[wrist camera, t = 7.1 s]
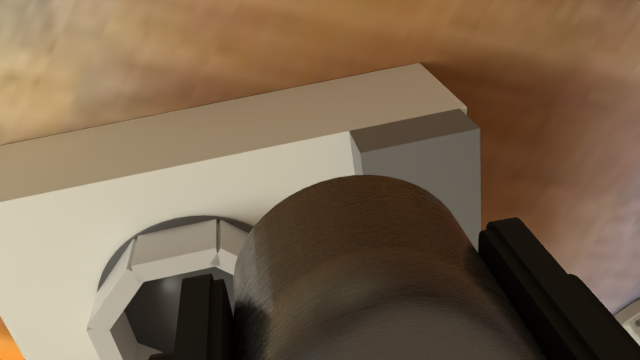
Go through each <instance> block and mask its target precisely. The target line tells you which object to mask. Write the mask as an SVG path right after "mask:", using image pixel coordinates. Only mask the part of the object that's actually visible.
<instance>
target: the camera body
mask: <svg viewBox="0 0 640 360" xmlns="http://www.w3.org/2000/svg"><path fill="white" fill-rule="evenodd" d="M351 175H379V176H388V177H392V178H397V179H401V180H404V181H407V182H410V183H412V184H415V185H417V186H419V187H421V188H423V189H425V190H427V191H428V192H430V193H431V194H433V195H434V196H435V197H437V198H438V199H439V200H441V201H442V202H443V204H444V205H445V206H446V207H447V208H448V209H449V210H450V211H451V213H452V214H453V216H454V217H455V218H456V220H457V221H458V223H459V224H460V226H461V228H462V229H463V231H464V232H465V234H466V235H467V237H468V238H469V240H470V241H471V243H472V244H473V246H474V247H475V249H476V250H477V252H478V237H479V233H480V231H481V162H480V128H479V127H478V126H477V125H476V124H475V123H474V122H473V121H472V120H471V119H470V118H469V117H468V116H467V107H466V106H465V105H464V104H463V103H462V102H461V101H460V100H459V99H458V98H457V97H456V96H455V95H454V94H452V93H451V92H450V91H449V90H448V89H447V88H446V87H445V86H444V85H443V84H442V83H441V82H440V81H438V80H437V79H436V78H435V77H434V76H433V75H432V74H431V73H430V72H429V71H428V70H427V69H426V68H424V67H423V66H422V65H421V64H420V63H416V64H411V65H406V66H400V67H395V68H390V69H385V70H380V71H375V72H370V73H365V74H360V75H355V76H350V77H345V78H340V79H335V80H330V81H325V82H320V83H315V84H310V85H305V86H299V87H294V88H289V89H284V90H279V91H274V92H269V93H264V94H259V95H254V96H249V97H244V98H239V99H234V100H229V101H224V102H219V103H214V104H209V105H204V106H199V107H193V108H188V109H183V110H178V111H173V112H168V113H163V114H158V115H153V116H148V117H143V118H138V119H133V120H128V121H123V122H118V123H113V124H108V125H103V126H98V127H92V128H87V129H82V130H77V131H72V132H67V133H62V134H57V135H52V136H47V137H42V138H37V139H32V140H27V141H22V142H17V143H12V144H7V145H2V146H0V316H1V318H2V320H3V322H4V323H5V325H6V327H7V329H8V330H9V332H10V334H11V336H12V337H13V339H14V341H15V343H16V344H17V346H18V348H19V349H20V351H21V353H22V355H23V356H24V358H25V360H148V358H149V357H150V355H152V354H158V353H163V352H168V351H173V350H174V346H175V337H176V328H177V319H178V310H179V301H180V292H181V283H182V279H183V278H188V277H193V276H199V275H204V274H209V273H211V274H212V275H213V278H214V280H218V279H224V281H225V285H226V289H227V293H228V297H229V301H230V305H231V309H232V313H233V316H234V308H233V276H234V269H235V264H236V260H237V257H238V254H239V251H240V249H241V247H242V245H243V243H244V241H245V239H246V238H247V236H248V235H249V233H250V232H251V230H252V229H253V227H254V226H255V225H256V224H257V223H258V222H259V220H260V219H261V218H262V217H263V216H264V215H265V214H266V213H267V212H268V211H270V210H271V209H272V208H273V207H274V206H275V205H277V204H278V203H280V202H281V201H283V200H284V199H285V198H287V197H288V196H290V195H292V194H294V193H296V192H298V191H300V190H302V189H303V188H306V187H308V186H311V185H313V184H316V183H319V182H322V181H325V180H329V179H333V178H337V177H344V176H351Z"/></svg>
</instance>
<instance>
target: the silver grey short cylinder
mask: <svg viewBox="0 0 640 360" xmlns="http://www.w3.org/2000/svg"><path fill="white" fill-rule="evenodd" d="M233 308H234V360H548V359H547V357H546V356H545V354H544V353H543V351H542V350H541V348H540V347H539V345H538V343H537V342H536V340H535V339H534V337H533V336H532V334H531V333H530V331H529V330H528V328H527V327H526V325H525V324H524V322H523V321H522V319H521V318H520V316H519V315H518V313H517V311H516V310H515V308H514V307H513V305H512V304H511V302H510V301H509V299H508V298H507V296H506V295H505V293H504V292H503V290H502V289H501V287H500V286H499V284H498V282H497V281H496V279H495V278H494V276H493V275H492V273H491V272H490V270H489V269H488V267H487V266H486V264H485V263H484V261H483V260H482V258H481V257H480V255H479V253H478V252H477V250H476V249H475V247H474V246H473V244H472V243H471V241H470V240H469V238H468V237H467V235H466V234H465V232H464V231H463V229H462V228H461V226H460V224H459V223H458V221H457V220H456V218H455V217H454V216H453V214H452V213H451V211H450V210H449V209H448V208H447V207H446V206H445V205H444V204H443V202H442V201H441V200H439V199H438V198H437V197H435V196H434V195H433V194H431V193H430V192H428V191H427V190H425V189H423V188H421V187H419V186H417V185H415V184H412V183H410V182H407V181H404V180H401V179H397V178H392V177H388V176H379V175H351V176H344V177H337V178H333V179H329V180H325V181H322V182H319V183H316V184H313V185H311V186H308V187H306V188H303V189H302V190H300V191H298V192H296V193H294V194H292V195H290V196H288V197H287V198H285V199H284V200H283V201H281V202H280V203H278V204H277V205H275V206H274V207H273V208H272V209H271V210H270V211H268V212H267V213H266V214H265V215H264V216H263V217H262V218H261V219H260V220H259V222H258V223H257V224H256V225H255V226H254V227H253V229H252V230H251V232H250V233H249V235H248V236H247V238H246V239H245V241H244V243H243V245H242V247H241V249H240V251H239V254H238V257H237V260H236V264H235V269H234V276H233Z"/></svg>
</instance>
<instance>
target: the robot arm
mask: <svg viewBox="0 0 640 360" xmlns="http://www.w3.org/2000/svg"><path fill="white" fill-rule="evenodd" d="M478 253H479V255H480V257H481V258H482V260H483V261H484V263H485V264H486V266H487V267H488V269H489V270H490V272H491V273H492V275H493V276H494V278H495V279H496V281H497V282H498V284H499V286H500V287H501V289H502V290H503V292H504V293H505V295H506V296H507V298H508V299H509V301H510V302H511V304H512V305H513V307H514V308H515V310H516V311H517V313H518V315H519V316H520V318H521V319H522V321H523V322H524V324H525V325H526V327H527V328H528V330H529V331H530V333H531V334H532V336H533V337H534V339H535V340H536V342H537V343H538V345H539V347H540V348H541V350H542V351H543V353H544V354H545V356H546V357H547V359H548V360H640V299H639V300H637V301H635V302H633V303H631V304H630V305H628V306H627V307H626V308H624V309H623V310H621V311H620V312H618V313H617V314H616V315H615V316H613V315H612V314H611V313H610V312H609V311H608V309H607V308H606V307H605V306H604V305H603V304H602V303H601V302H600V301H599V299H598V298H597V297H596V296H595V295H594V294H593V293H592V292H591V290H590V289H589V288H588V287H587V286H586V285H585V284H584V283H583V281H582V280H580V279H579V278H578V277H577V276H575V275H572V274H567V273H566V272H565V270H564V269H563V268H562V267H561V266H560V265H559V264H558V262H557V261H556V260H555V259H554V258H553V257H552V256H551V254H550V253H549V252H548V251H547V250H546V249H545V248H544V246H543V245H542V244H541V243H540V242H539V241H538V239H537V238H536V237H535V236H534V235H533V234H532V233H531V231H530V230H529V229H528V228H527V227H526V226H525V225H524V223H523V222H522V221H521V220H520V219H519V218H516V217H514V218H509V219H504V220H498V221H493V222H489V223H488V224H487V226H486V230H483V231H480V233H479V237H478ZM148 360H234V316H233V313H232V309H231V305H230V301H229V297H228V293H227V289H226V285H225V281H224V279H218V280H214V278H213V275H212V274H211V273H209V274H204V275H199V276H193V277H188V278H183V279H182V283H181V292H180V301H179V310H178V319H177V328H176V337H175V346H174V350H173V351H168V352H163V353H158V354H152V355H150V357H149V358H148Z"/></svg>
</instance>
